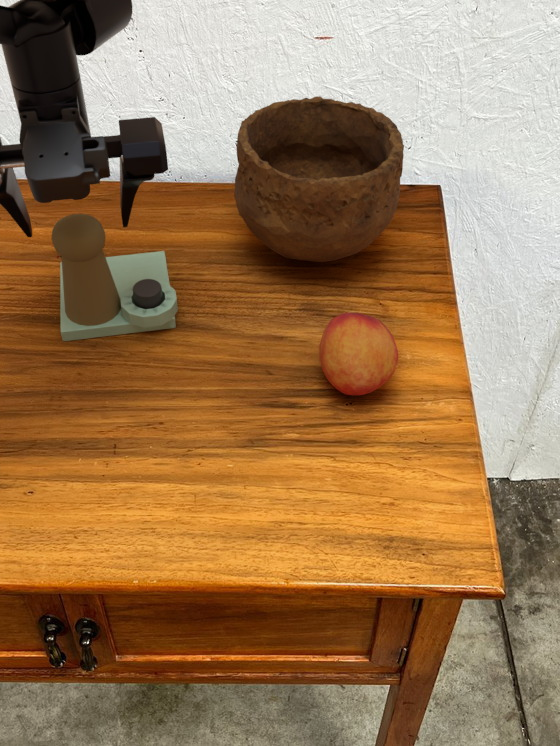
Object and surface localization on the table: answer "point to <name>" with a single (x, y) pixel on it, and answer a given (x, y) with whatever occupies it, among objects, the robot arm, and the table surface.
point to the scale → (128, 299)
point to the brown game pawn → (85, 270)
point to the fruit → (357, 353)
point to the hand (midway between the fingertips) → (78, 229)
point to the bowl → (318, 177)
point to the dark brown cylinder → (147, 293)
